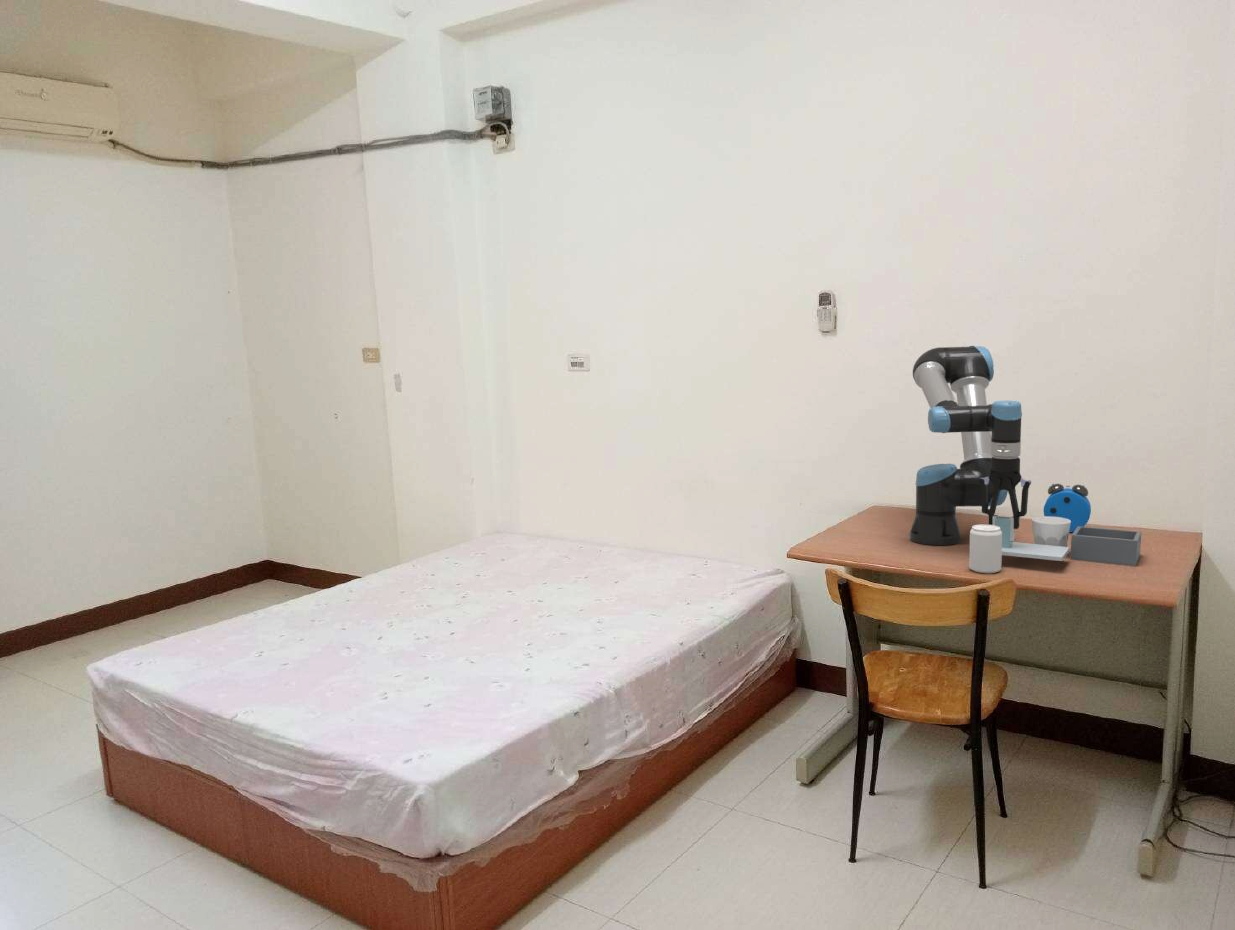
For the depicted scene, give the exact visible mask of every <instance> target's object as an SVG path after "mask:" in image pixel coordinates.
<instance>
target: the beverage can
mask: <svg viewBox="0 0 1235 930" xmlns="http://www.w3.org/2000/svg"><path fill="white" fill-rule="evenodd" d="M1002 556H1003V555H1002V531H1001V530H1000V527H998V526H995V525H989V524H982V523H981V524H974V525H972V526H971V529H970V531H969V556H968V557H969V563H968V566H969V569H970V570H971V571H974V572H976V573H980V574H995V573H998V572H1000V571H1001V570H1002V561H1003V560H1002V559H1003V557H1002Z"/></svg>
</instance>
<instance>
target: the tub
mask: <svg viewBox="0 0 1235 930" xmlns="http://www.w3.org/2000/svg"><path fill="white" fill-rule="evenodd" d="M1070 537H1071V539H1070V560H1072V561H1082V562H1093V563H1101V564H1110V565H1111V564H1112V565H1119V566H1121V565H1123V566H1129V567H1130V566H1131V567H1137V565H1138V562H1139V559H1140V557H1141V549H1142V531H1139V530H1127V529H1115V528H1102V527H1092V526H1091V527H1090V526H1084V527H1082V526H1078V527H1077V528H1076V530H1075V531H1074V532H1072V534H1071V536H1070Z"/></svg>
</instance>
